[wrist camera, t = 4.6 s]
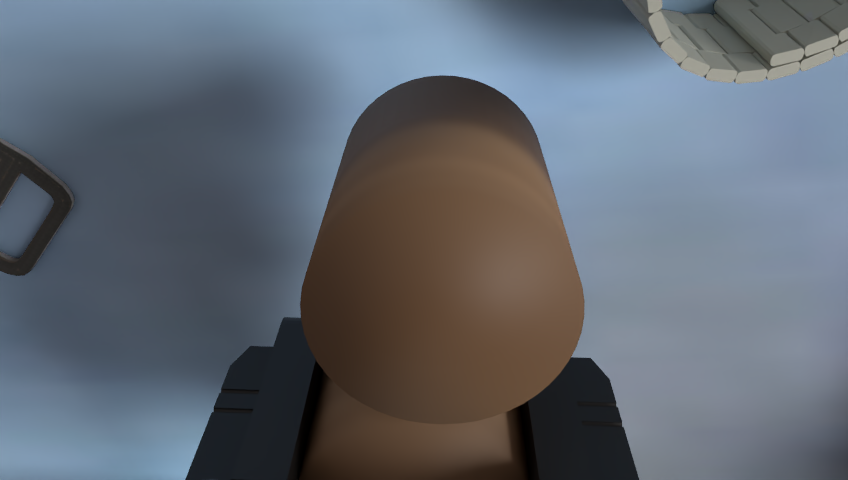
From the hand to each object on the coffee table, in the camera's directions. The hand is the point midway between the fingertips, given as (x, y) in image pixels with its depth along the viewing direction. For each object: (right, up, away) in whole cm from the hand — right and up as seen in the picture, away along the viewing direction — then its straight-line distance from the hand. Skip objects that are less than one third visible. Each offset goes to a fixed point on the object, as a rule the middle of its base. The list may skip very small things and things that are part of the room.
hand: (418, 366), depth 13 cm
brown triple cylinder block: (0, 0, +1) cm, 1 cm away
